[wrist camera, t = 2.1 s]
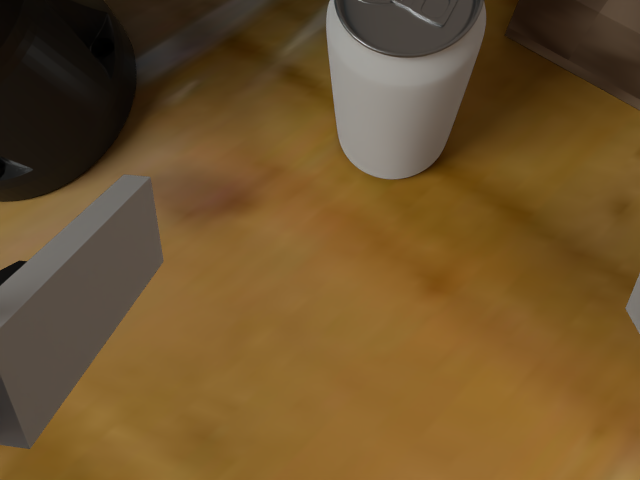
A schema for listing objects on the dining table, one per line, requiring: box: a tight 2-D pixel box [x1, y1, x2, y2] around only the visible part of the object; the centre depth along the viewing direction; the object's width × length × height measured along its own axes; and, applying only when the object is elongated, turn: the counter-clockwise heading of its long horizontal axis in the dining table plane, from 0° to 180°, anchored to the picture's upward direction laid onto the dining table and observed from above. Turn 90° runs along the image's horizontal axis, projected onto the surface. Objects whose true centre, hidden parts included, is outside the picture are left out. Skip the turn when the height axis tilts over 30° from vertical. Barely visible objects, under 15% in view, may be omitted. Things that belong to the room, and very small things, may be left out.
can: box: [326, 0, 486, 179], centre depth 26 cm, size 6×6×12 cm
